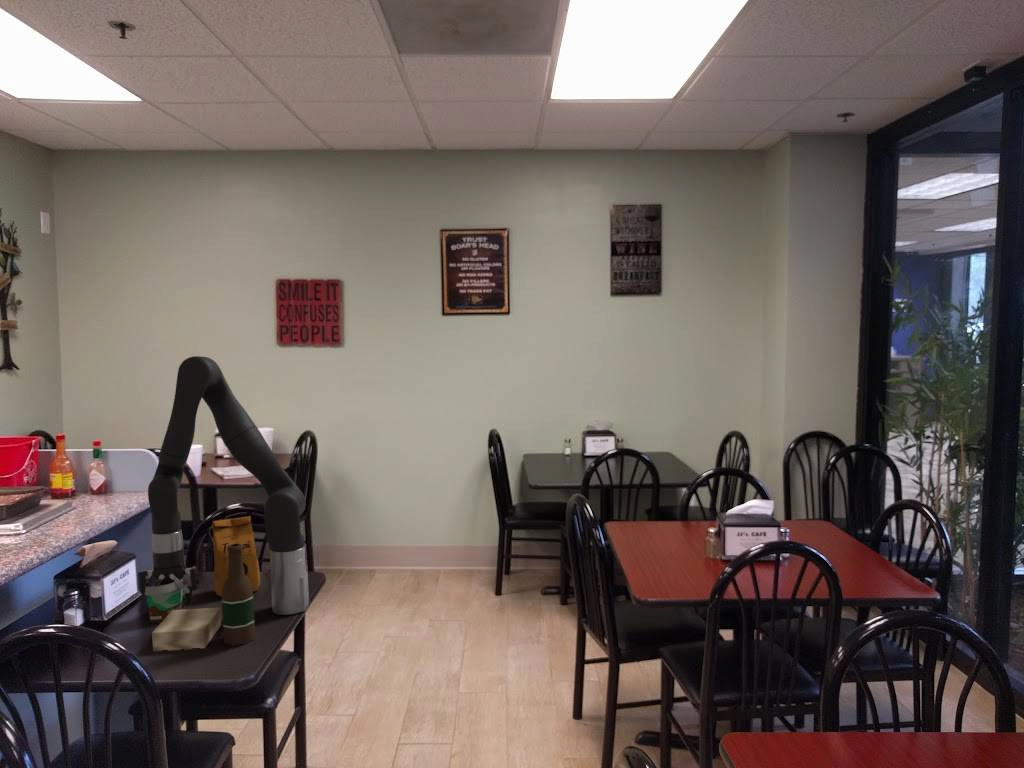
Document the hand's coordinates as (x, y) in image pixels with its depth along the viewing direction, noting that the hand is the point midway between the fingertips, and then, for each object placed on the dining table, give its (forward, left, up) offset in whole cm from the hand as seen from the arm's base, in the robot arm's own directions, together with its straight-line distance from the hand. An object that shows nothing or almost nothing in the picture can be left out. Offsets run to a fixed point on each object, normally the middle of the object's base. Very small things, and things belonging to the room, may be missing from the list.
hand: (171, 606), depth 199 cm
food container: (0, 0, -3) cm, 3 cm away
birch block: (-9, +15, -3) cm, 18 cm away
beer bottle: (-22, +18, -3) cm, 29 cm away
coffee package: (-13, -16, -3) cm, 21 cm away
